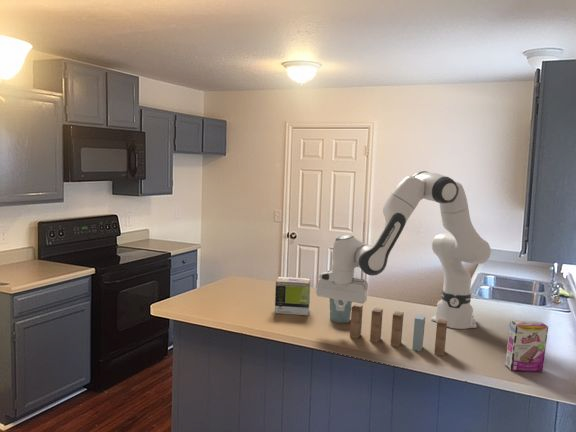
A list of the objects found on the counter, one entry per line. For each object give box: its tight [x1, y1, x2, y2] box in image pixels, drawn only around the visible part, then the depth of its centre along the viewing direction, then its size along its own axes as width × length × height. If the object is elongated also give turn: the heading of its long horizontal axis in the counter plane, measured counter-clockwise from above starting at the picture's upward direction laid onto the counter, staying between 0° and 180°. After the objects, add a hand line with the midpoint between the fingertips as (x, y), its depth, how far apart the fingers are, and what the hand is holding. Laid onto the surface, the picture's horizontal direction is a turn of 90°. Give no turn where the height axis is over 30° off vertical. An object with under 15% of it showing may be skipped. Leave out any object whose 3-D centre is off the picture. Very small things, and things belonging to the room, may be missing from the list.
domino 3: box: [390, 310, 405, 348], centre depth 185 cm, size 5×3×12 cm, turn 156°
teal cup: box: [329, 298, 353, 324], centre depth 211 cm, size 10×10×12 cm
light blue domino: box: [411, 314, 426, 352], centre depth 182 cm, size 5×3×12 cm, turn 156°
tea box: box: [274, 276, 311, 316], centre depth 219 cm, size 15×10×15 cm
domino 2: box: [369, 307, 384, 344], centre depth 189 cm, size 5×3×12 cm, turn 156°
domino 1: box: [349, 303, 364, 340], centre depth 192 cm, size 5×3×12 cm, turn 156°
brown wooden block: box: [434, 318, 448, 356], centre depth 179 cm, size 5×3×12 cm, turn 156°
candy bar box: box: [504, 320, 549, 373], centre depth 167 cm, size 11×5×16 cm, turn 92°
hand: (340, 310), depth 194 cm, fingers closed
